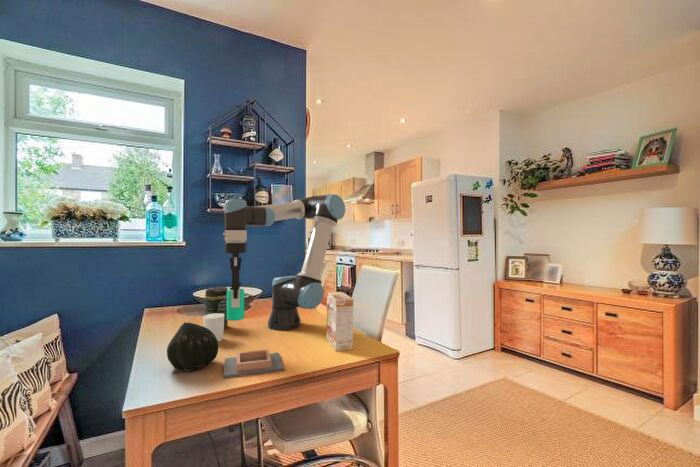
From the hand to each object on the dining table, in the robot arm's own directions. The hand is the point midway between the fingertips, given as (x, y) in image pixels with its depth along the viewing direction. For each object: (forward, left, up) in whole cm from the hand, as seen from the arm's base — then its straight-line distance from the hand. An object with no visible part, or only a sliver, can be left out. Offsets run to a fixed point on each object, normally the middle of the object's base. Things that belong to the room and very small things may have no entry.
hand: (235, 305), depth 120 cm
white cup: (+8, -16, -17) cm, 25 cm away
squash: (+13, +9, -17) cm, 24 cm away
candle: (0, 0, -5) cm, 5 cm away
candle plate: (-6, +15, -17) cm, 23 cm away
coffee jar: (+8, -34, -17) cm, 39 cm away
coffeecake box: (-39, +3, -17) cm, 43 cm away
